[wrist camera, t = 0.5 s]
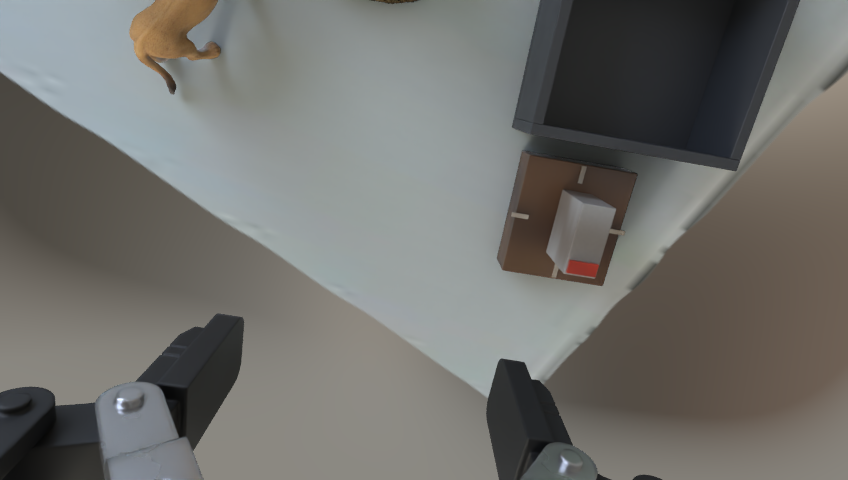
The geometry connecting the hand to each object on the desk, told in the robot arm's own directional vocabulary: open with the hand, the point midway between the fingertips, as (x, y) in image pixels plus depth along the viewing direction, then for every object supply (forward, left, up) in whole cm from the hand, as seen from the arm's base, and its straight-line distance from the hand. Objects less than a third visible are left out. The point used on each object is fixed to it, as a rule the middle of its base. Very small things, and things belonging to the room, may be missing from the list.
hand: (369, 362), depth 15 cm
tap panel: (0, +14, -28) cm, 31 cm away
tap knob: (0, +14, -25) cm, 28 cm away
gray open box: (-14, +16, -28) cm, 35 cm away
